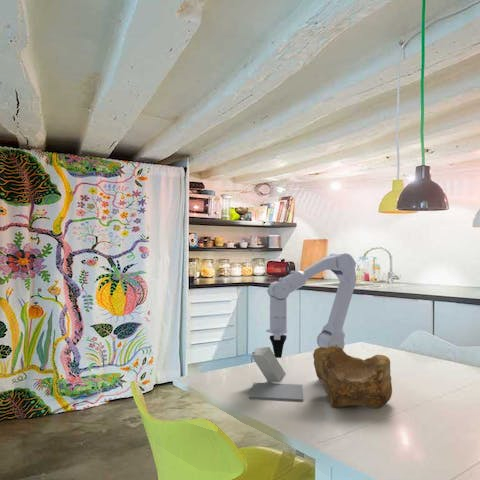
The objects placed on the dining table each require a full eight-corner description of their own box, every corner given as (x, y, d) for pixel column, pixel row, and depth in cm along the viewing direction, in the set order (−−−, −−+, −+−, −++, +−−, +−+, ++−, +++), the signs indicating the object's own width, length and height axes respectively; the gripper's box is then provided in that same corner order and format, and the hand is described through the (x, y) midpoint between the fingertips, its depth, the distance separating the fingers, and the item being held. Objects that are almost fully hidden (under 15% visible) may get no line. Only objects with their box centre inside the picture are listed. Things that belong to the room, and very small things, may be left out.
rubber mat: (302, 386, 134) (302, 384, 134) (303, 401, 120) (303, 399, 120) (253, 384, 136) (253, 382, 136) (249, 398, 122) (249, 396, 122)
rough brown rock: (300, 408, 117) (300, 356, 116) (316, 386, 132) (316, 341, 131) (386, 426, 106) (387, 370, 106) (393, 401, 121) (393, 351, 121)
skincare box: (286, 374, 138) (270, 346, 134) (280, 383, 135) (263, 355, 131) (272, 372, 142) (257, 345, 139) (266, 382, 139) (250, 354, 136)
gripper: (267, 313, 147) (267, 351, 146) (264, 319, 132) (264, 362, 132) (287, 314, 146) (287, 352, 145) (286, 320, 131) (286, 363, 131)
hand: (278, 357), depth 138 cm, fingers closed
